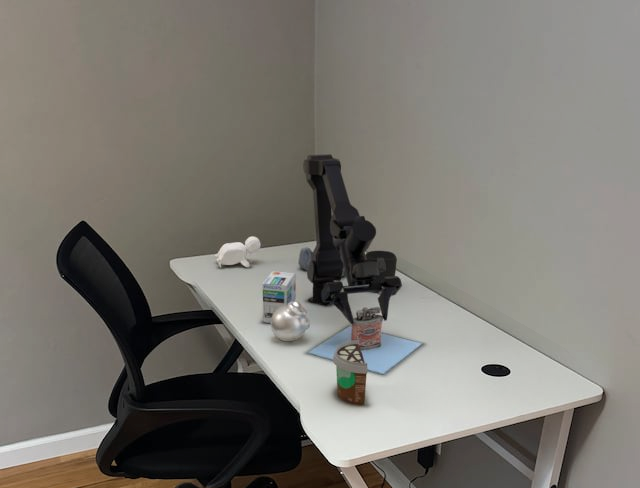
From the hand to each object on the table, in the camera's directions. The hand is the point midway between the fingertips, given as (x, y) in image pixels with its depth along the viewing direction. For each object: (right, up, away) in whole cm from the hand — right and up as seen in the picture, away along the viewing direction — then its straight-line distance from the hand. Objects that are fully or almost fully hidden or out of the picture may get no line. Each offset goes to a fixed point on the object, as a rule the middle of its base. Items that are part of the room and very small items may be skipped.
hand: (369, 321), depth 164 cm
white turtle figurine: (-37, +24, +62) cm, 76 cm away
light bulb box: (-22, +3, +22) cm, 32 cm away
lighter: (0, -6, +5) cm, 8 cm away
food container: (-6, -17, -16) cm, 24 cm away
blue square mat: (0, -6, +5) cm, 8 cm away
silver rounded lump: (-19, -4, +9) cm, 21 cm away
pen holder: (+6, +14, +43) cm, 46 cm away
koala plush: (-6, +22, +58) cm, 62 cm away
